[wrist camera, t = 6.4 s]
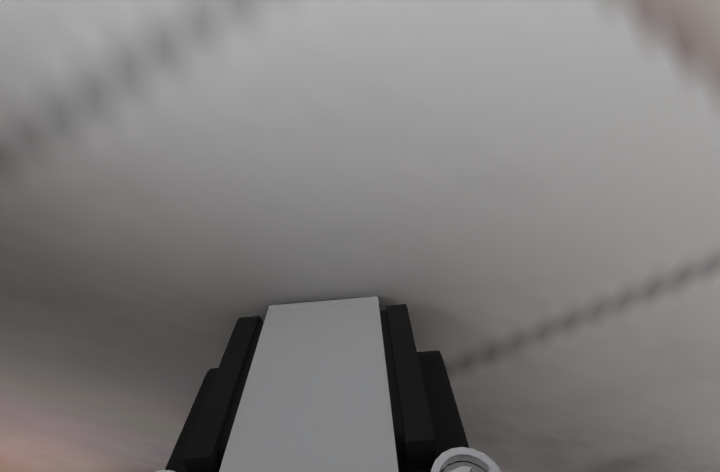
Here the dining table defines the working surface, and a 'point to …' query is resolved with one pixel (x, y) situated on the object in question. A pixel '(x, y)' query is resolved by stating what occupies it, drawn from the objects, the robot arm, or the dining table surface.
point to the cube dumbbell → (316, 393)
